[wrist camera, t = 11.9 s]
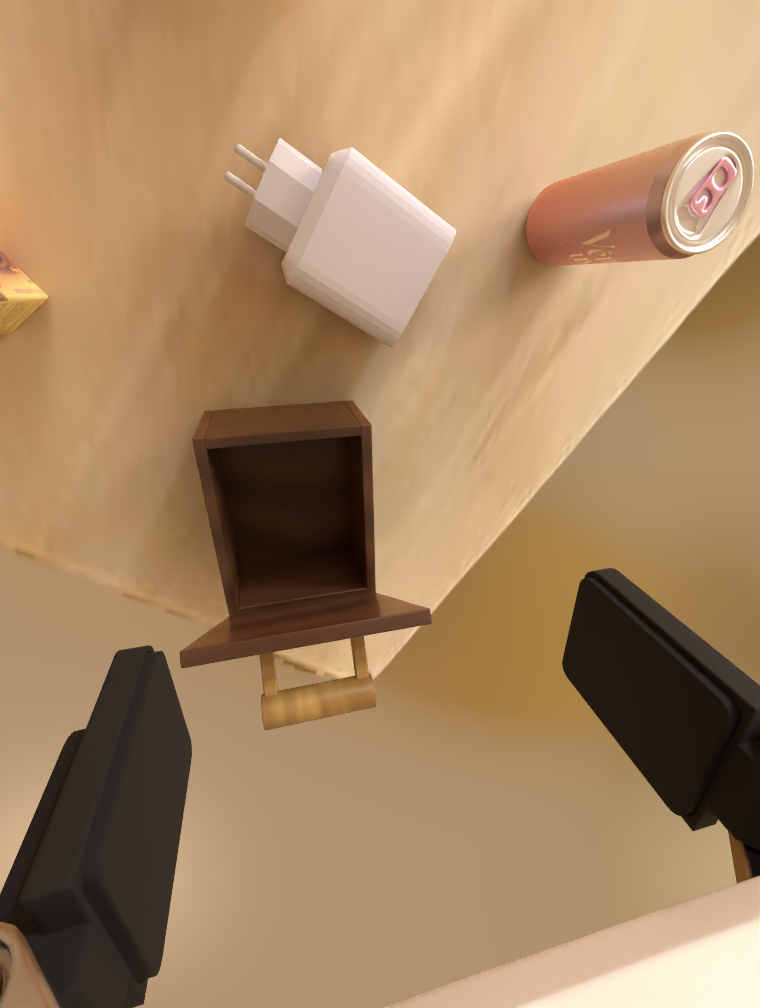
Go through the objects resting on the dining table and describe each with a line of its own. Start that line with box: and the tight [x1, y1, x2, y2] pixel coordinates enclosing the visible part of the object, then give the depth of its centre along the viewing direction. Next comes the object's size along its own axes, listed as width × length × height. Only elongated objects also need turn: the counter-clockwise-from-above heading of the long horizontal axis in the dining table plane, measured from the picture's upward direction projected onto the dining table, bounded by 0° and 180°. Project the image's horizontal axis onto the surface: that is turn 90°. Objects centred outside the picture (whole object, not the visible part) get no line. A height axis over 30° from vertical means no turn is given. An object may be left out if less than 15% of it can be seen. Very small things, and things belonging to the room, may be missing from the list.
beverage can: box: [526, 132, 754, 266], centre depth 31 cm, size 6×6×15 cm
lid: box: [180, 593, 432, 730], centre depth 30 cm, size 16×13×5 cm
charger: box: [224, 138, 456, 347], centre depth 32 cm, size 5×9×15 cm
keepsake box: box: [192, 401, 376, 616], centre depth 39 cm, size 16×13×8 cm
